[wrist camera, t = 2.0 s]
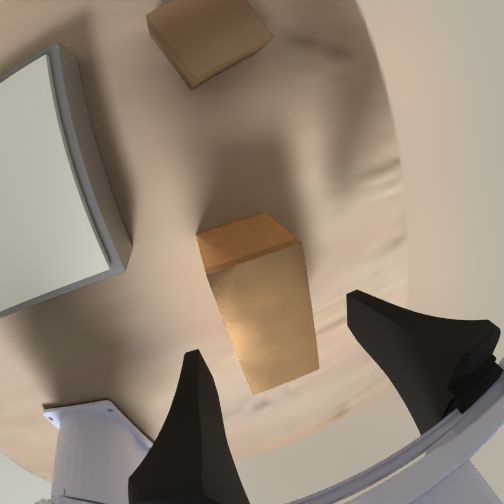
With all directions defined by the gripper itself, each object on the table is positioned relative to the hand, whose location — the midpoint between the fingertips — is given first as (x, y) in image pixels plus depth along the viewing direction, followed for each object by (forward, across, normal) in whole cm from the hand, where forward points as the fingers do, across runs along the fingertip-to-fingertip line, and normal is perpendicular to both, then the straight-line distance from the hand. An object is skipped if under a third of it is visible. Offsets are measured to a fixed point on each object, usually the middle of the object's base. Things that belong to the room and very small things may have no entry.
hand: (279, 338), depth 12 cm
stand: (+5, +11, -10) cm, 16 cm away
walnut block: (+6, -1, -14) cm, 15 cm away
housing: (+6, 0, 0) cm, 6 cm away
